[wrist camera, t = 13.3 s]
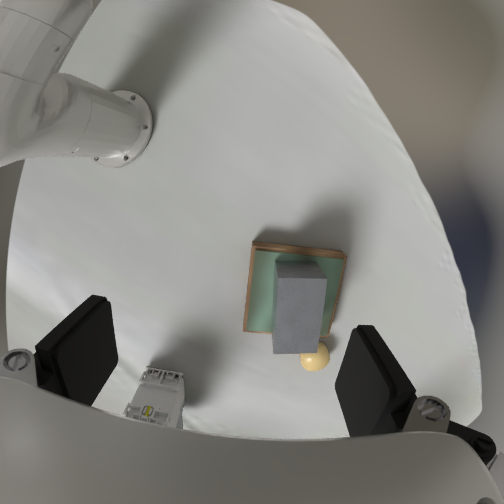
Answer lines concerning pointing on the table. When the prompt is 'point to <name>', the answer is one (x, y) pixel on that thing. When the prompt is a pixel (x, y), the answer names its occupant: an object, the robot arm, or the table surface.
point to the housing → (297, 306)
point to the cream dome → (315, 358)
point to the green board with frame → (263, 280)
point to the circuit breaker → (158, 398)
